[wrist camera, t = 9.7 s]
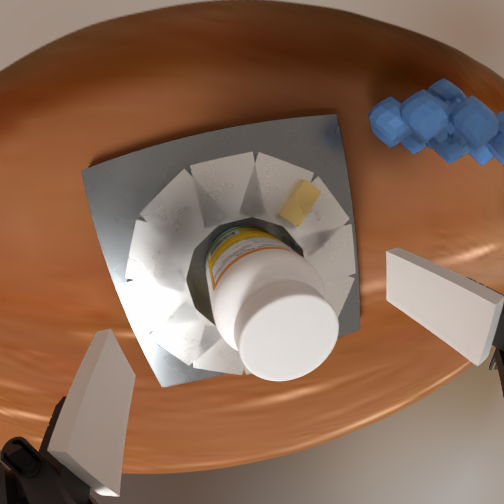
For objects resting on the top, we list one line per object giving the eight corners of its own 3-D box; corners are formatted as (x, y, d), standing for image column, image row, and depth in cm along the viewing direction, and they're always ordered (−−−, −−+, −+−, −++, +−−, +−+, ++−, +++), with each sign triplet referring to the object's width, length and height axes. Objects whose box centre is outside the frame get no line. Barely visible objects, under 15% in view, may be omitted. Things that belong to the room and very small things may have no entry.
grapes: (438, 108, 20) (535, 100, 8) (439, 172, 22) (541, 187, 10) (342, 73, 17) (454, 19, 6) (343, 152, 19) (475, 146, 8)
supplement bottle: (275, 300, 20) (334, 388, 11) (201, 297, 19) (214, 396, 10) (288, 228, 19) (371, 277, 10) (209, 219, 18) (228, 269, 8)
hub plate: (162, 379, 21) (160, 417, 17) (86, 170, 16) (57, 170, 12) (354, 324, 24) (381, 350, 19) (330, 116, 18) (363, 104, 14)
